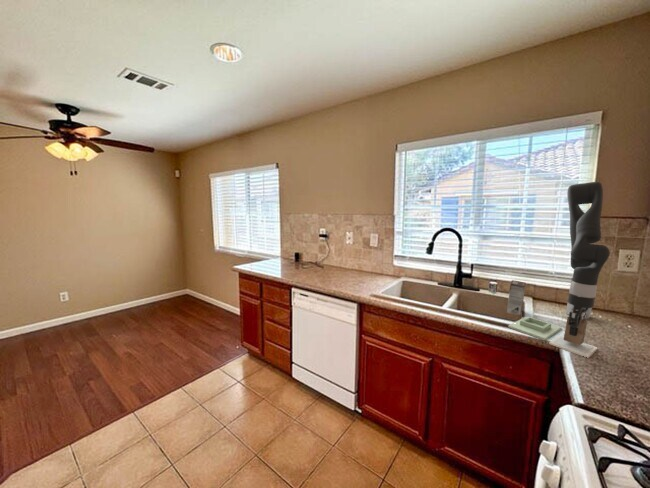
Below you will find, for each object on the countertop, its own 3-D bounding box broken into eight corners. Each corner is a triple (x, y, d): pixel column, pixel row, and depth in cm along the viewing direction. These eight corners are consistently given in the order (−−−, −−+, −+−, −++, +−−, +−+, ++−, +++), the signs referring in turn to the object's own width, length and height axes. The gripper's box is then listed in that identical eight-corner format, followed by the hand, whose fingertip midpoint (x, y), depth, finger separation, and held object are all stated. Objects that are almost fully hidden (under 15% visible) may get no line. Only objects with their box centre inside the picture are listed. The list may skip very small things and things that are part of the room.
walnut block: (567, 336, 112) (571, 314, 110) (583, 342, 108) (587, 319, 106) (563, 340, 109) (567, 317, 108) (579, 345, 105) (584, 321, 103)
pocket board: (526, 317, 136) (527, 312, 135) (561, 329, 124) (562, 323, 123) (508, 327, 125) (509, 321, 124) (544, 340, 113) (545, 333, 113)
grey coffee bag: (507, 307, 149) (511, 279, 146) (522, 310, 145) (526, 282, 142) (506, 312, 142) (510, 283, 139) (521, 315, 138) (525, 286, 135)
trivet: (559, 336, 117) (559, 334, 117) (597, 349, 107) (597, 346, 107) (548, 343, 110) (549, 341, 110) (588, 358, 100) (588, 355, 100)
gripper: (575, 288, 112) (568, 325, 115) (563, 294, 104) (556, 334, 107) (600, 293, 106) (592, 332, 109) (589, 300, 98) (581, 342, 101)
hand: (575, 333), depth 108 cm, fingers closed on walnut block, 5 cm apart
